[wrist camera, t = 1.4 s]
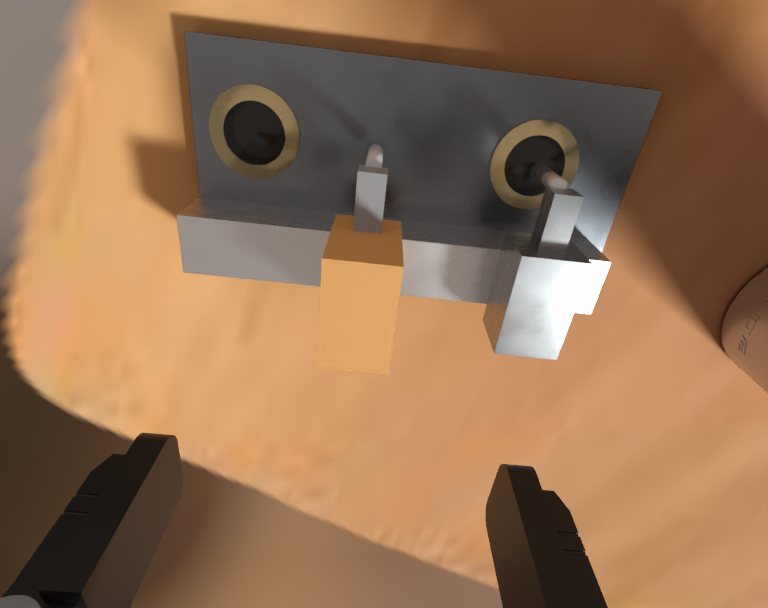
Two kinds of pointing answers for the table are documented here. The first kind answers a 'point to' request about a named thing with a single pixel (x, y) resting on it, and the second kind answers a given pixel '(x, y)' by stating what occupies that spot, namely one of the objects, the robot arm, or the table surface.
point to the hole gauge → (412, 175)
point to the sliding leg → (361, 279)
